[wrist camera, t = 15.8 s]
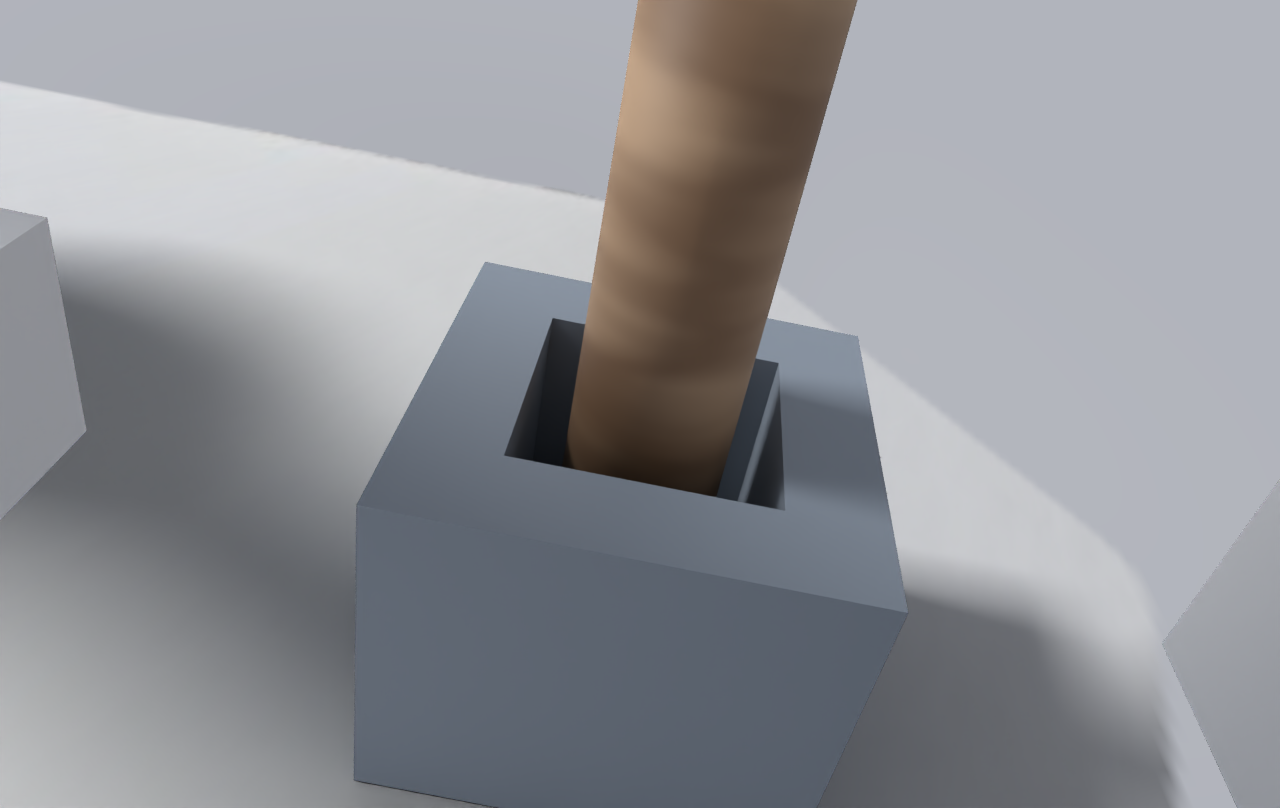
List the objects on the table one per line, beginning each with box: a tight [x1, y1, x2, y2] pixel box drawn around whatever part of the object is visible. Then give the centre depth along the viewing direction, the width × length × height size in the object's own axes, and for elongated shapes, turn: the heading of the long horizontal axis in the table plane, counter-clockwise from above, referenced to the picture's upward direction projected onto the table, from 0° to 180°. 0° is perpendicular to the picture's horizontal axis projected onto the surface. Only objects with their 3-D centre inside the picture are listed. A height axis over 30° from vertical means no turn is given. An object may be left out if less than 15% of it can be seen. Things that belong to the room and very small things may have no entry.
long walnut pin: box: [562, 0, 857, 497], centre depth 22 cm, size 4×4×22 cm
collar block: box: [354, 262, 908, 808], centre depth 26 cm, size 11×11×9 cm
